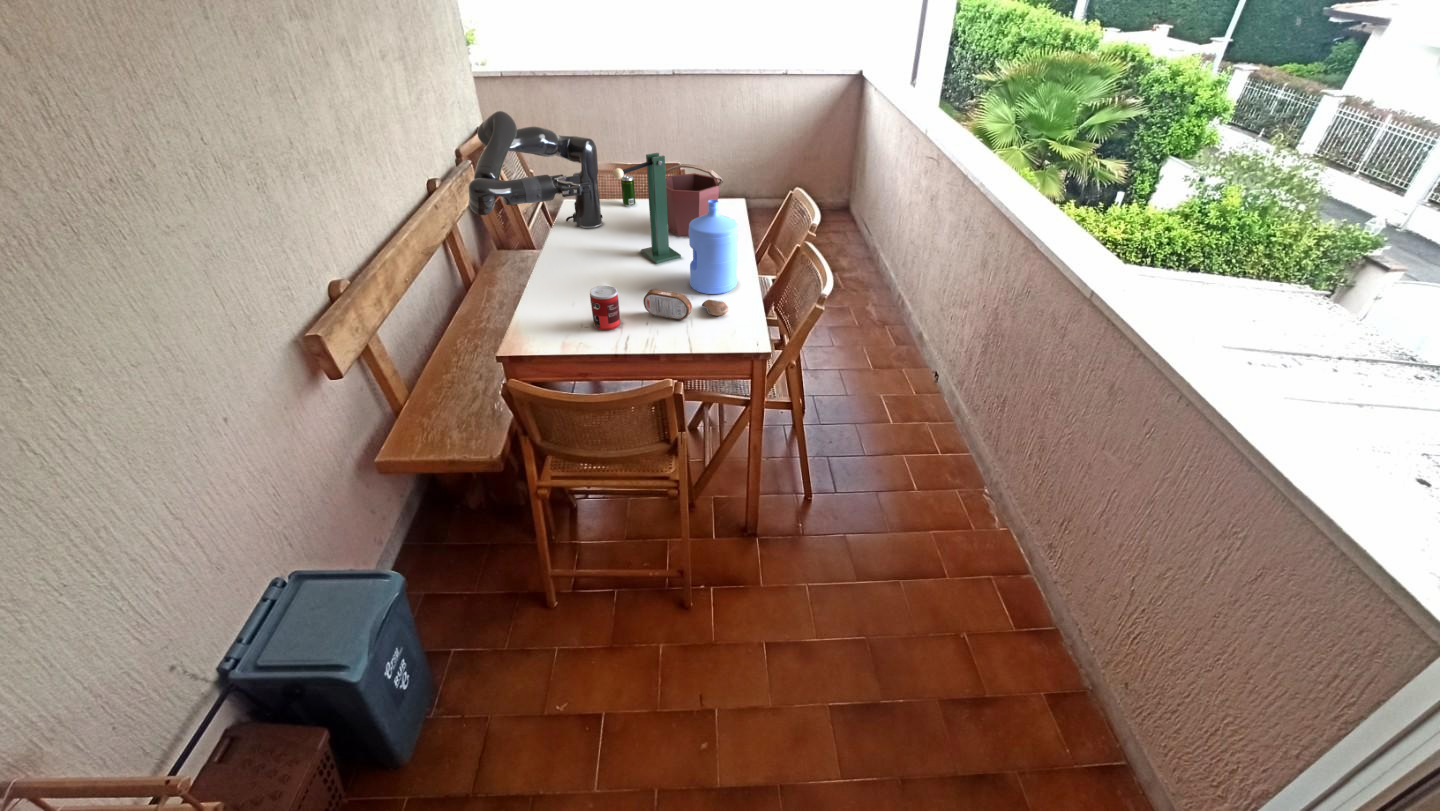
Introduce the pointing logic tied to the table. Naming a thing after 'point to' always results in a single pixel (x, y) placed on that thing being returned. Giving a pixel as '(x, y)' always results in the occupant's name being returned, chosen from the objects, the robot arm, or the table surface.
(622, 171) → the lever
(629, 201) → the beer can
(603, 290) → the canned food
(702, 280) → the water jug
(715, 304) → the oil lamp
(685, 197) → the bucket
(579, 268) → the table surface
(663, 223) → the green upright stand
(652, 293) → the tin
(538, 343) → the table surface
